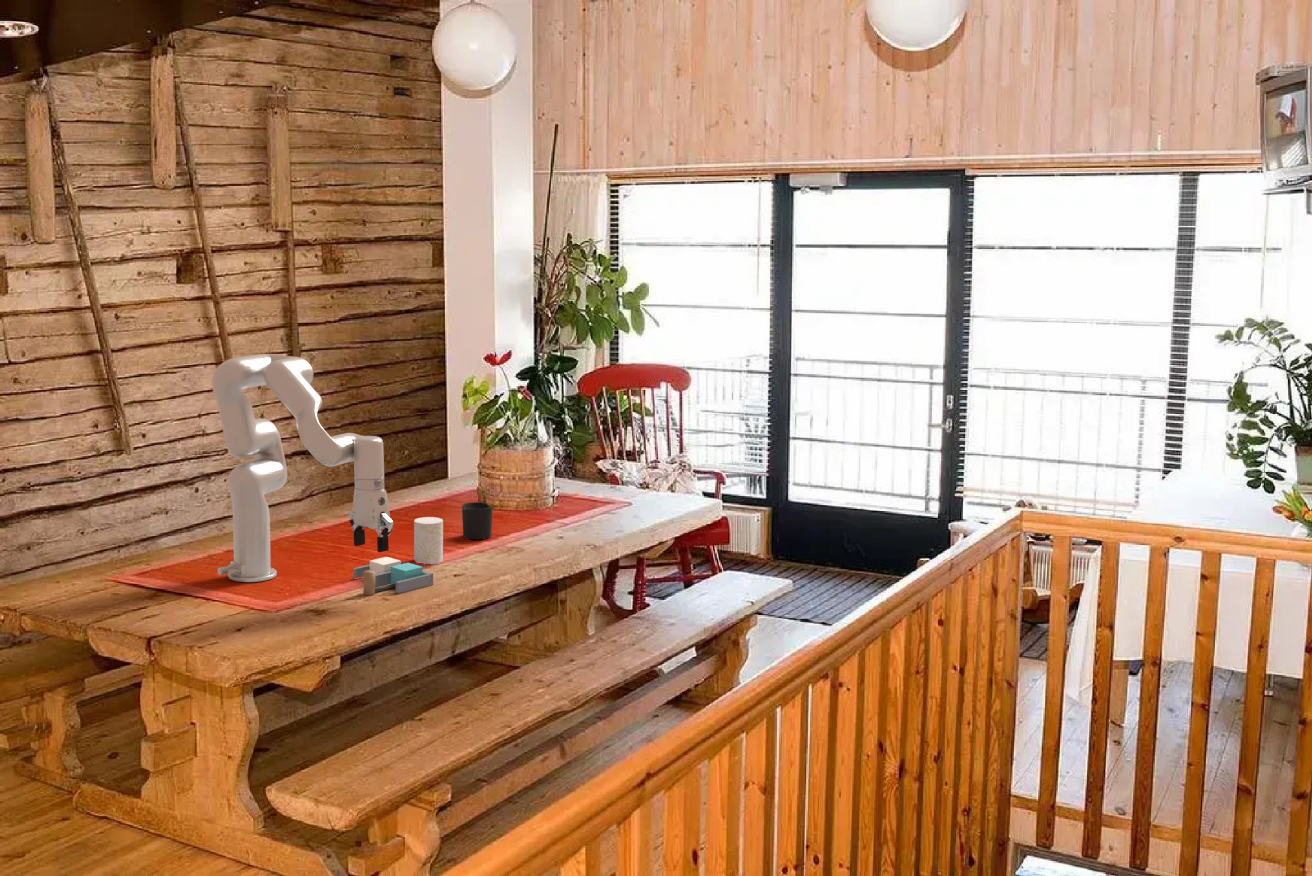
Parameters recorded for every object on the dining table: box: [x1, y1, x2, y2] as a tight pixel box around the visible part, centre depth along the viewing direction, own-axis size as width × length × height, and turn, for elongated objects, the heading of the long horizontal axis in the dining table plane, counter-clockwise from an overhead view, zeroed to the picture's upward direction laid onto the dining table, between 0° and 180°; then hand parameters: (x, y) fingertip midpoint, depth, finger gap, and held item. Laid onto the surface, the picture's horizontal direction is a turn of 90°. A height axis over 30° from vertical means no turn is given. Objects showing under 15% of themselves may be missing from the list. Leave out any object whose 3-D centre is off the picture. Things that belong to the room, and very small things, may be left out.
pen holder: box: [461, 501, 494, 540], centre depth 404 cm, size 9×9×10 cm
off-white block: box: [369, 556, 402, 575], centre depth 357 cm, size 6×6×5 cm
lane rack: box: [352, 564, 434, 594], centre depth 354 cm, size 12×19×3 cm, turn 50°
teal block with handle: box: [362, 562, 424, 597], centre depth 347 cm, size 17×6×6 cm, turn 140°
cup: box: [413, 516, 444, 565], centre depth 375 cm, size 8×8×12 cm
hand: (371, 548), depth 340 cm, fingers open, 9 cm apart
